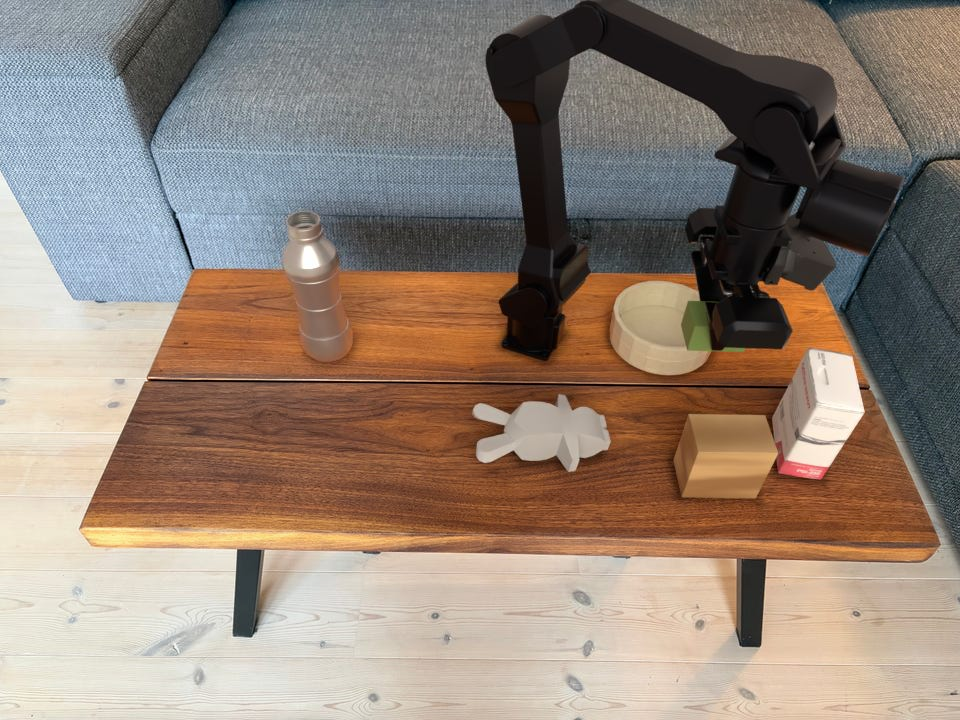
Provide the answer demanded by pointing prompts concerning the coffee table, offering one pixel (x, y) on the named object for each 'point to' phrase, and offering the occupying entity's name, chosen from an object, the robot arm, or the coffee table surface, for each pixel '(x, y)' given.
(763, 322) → the robot arm
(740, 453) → the block
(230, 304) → the coffee table surface
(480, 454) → the bunny figurine
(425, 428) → the coffee table surface
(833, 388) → the ink box
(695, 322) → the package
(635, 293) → the bowl
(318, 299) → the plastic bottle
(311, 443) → the coffee table surface
